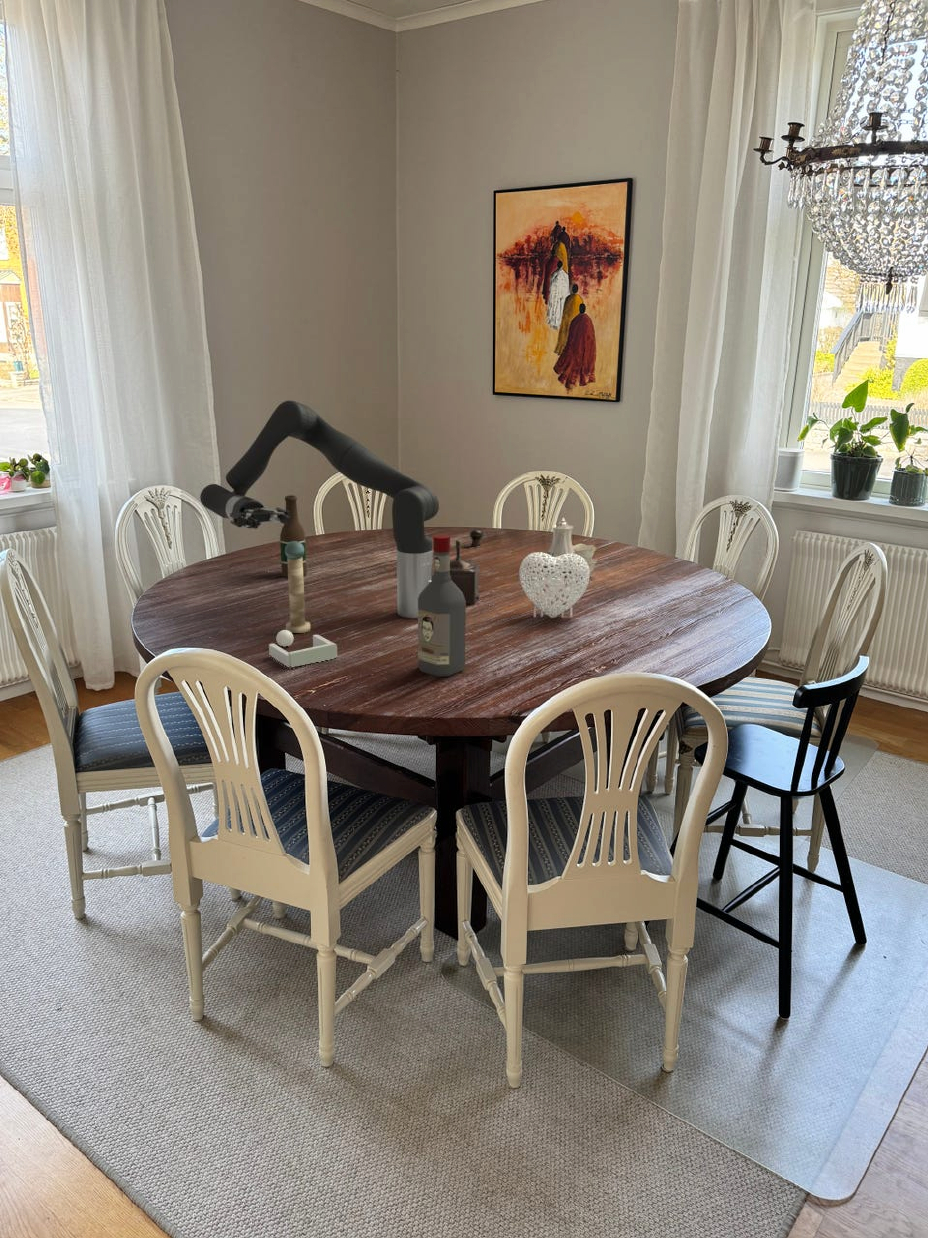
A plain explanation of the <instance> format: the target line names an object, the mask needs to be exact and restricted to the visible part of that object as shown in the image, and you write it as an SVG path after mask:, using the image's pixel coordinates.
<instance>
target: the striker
mask: <svg viewBox="0 0 928 1238" xmlns="http://www.w3.org/2000/svg"><path fill="white" fill-rule="evenodd" d="M285 554H286V556H287V557H288V558H287V560H288V578H287V579H288V598H289V599H288V600H289V616H290V619H289V620H290V621H289V622H287V623H285V630H288V631H290V632H291V633H304V634H306V633H305V632H308V631H309V632H311V630H310V629H311V623H310V622H309V621H306V606H305V605H306V604H305V586H304V585H305V584H304V582H305V580H304V577H303V558H302V556H303V554H304V547H303V545H302V544H301V543H300V542H298V541H291V542H289V543H288V544H287V545H286V547H285ZM309 632H308V633H309Z"/></svg>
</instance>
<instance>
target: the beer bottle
mask: <svg viewBox="0 0 928 1238" xmlns="http://www.w3.org/2000/svg"><path fill="white" fill-rule="evenodd" d="M284 501H285V510H287V511H289V517H290V523H289V525H286V524H283V526H282V527H281V531H280V535H279V542H280V544H279V545H280V546H279V547H280V560H281V575H282V577H283V578H286V577H287V578H286V579H288V560H287V558H288V557H287V556H286V554H285V547H286V545H287V544H288V543H289V542H291V541H298V542H300V543H301V544H302V545H303V547H304V554H303V556H302V558H303V578H304V577H307V549H306V547H307V546H306V534H305V533H306V532H305V531H304V528H303V526H302V524H301V523H300V520H299V516H298V505H297V501H298V497H297V496H296V495H293V494H291V495H285V497H284Z"/></svg>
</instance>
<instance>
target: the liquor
mask: <svg viewBox="0 0 928 1238" xmlns="http://www.w3.org/2000/svg"><path fill="white" fill-rule="evenodd" d="M432 538H433V539H432V542H433V580H432V581H431V582H430V583H429V584H428V585H427V586H426V587H425V588H424V590H423V591H422V592H421V593H420V594H419V597H418V618H417V664H418V669H419V671H420V672H421V673H425V674H428V675H431V676H434V677H438V678H439V677H451V676H453V675H455V674H458V673H460V672H462V671H464V669H465V668H466V625H467V624H466V621H467V620H466V618H467V617H466V615H467V613H466V611H467V609H466V608H467V605H466V601H465V598H464V595H463V593H462V591H461V590H460V589H459V588H458V587H457V586H456V585H455V584H454V583H453V582H452V580H451V576H450V561H451V560H450V557H451V556H450V555H451V554H450V552H451V536H450V535H448V534H435V535H433V537H432Z"/></svg>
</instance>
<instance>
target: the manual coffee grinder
mask: <svg viewBox="0 0 928 1238" xmlns="http://www.w3.org/2000/svg"><path fill="white" fill-rule="evenodd" d="M469 537H470V539H471V543H470V545H461V541H460V540H456V541H455V549H456V558H454V559H452V560H450V576H451V580H452V582H453V583H454V584H455V585H456V586H457V587H458V588H459V589H460V590H461V591H462V593H463V595H464V598H465V601H466V606H474V605H475V604H476V603H477V601H478V599H480V594H479V593H480V592H479V567H480V563H479V562H471V561H472V559H471V558H470V560H467V559H465V558H461V553H460V552H461V550H469V549H472V548H474V549H476V548H477V547H481V540H482V539H483V537H484V532H483V531H481V529H472V530H470V532H469Z"/></svg>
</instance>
